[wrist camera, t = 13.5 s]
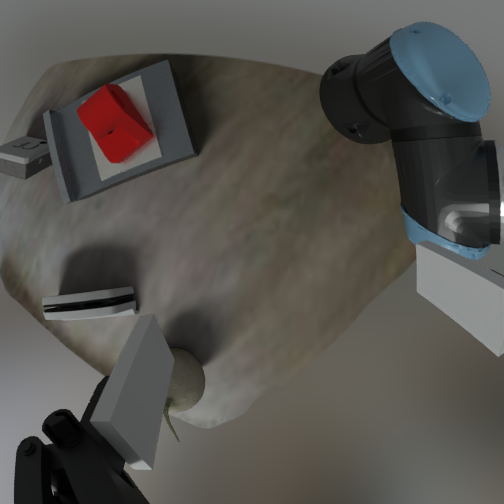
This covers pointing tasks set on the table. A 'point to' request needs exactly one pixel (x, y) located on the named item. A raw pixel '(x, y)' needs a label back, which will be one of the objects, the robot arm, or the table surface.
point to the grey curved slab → (79, 310)
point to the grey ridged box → (86, 148)
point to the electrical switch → (24, 157)
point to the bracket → (114, 123)
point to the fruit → (184, 384)
